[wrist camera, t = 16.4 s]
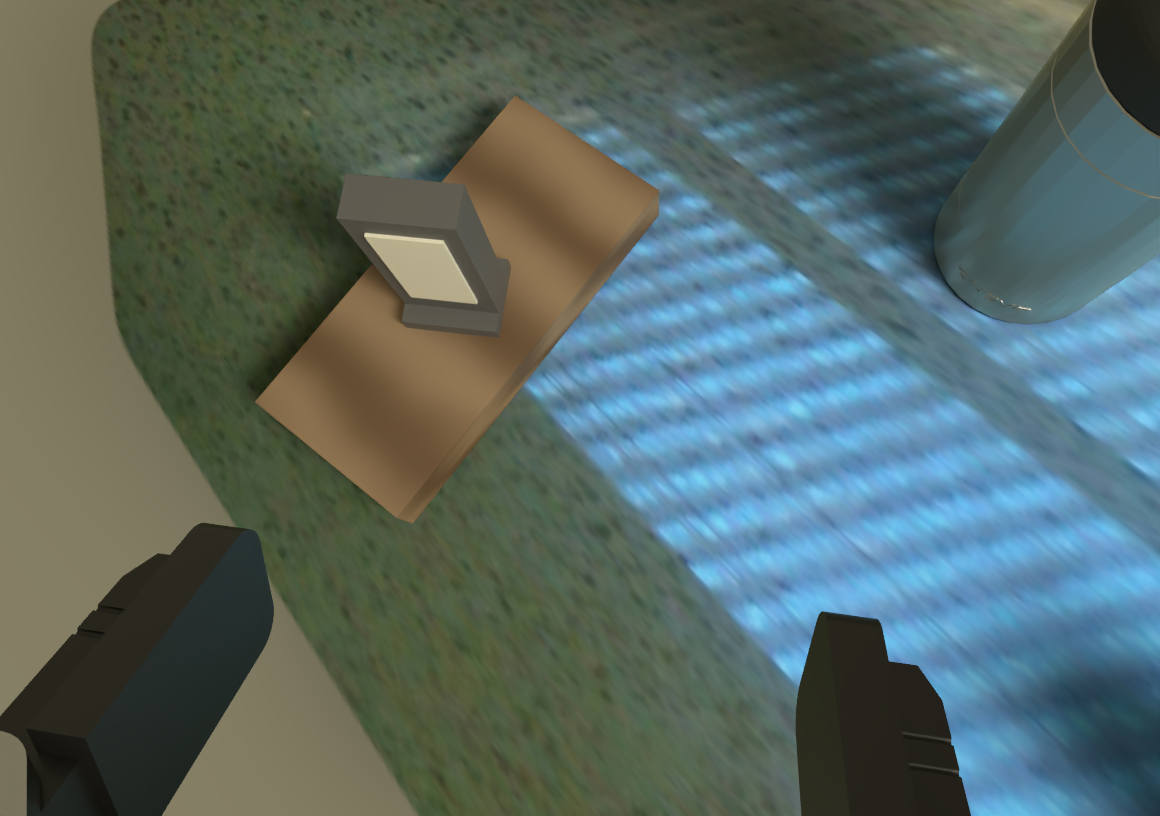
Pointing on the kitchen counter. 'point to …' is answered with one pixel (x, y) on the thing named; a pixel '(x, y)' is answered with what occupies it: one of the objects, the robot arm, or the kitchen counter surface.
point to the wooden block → (460, 361)
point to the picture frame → (428, 251)
